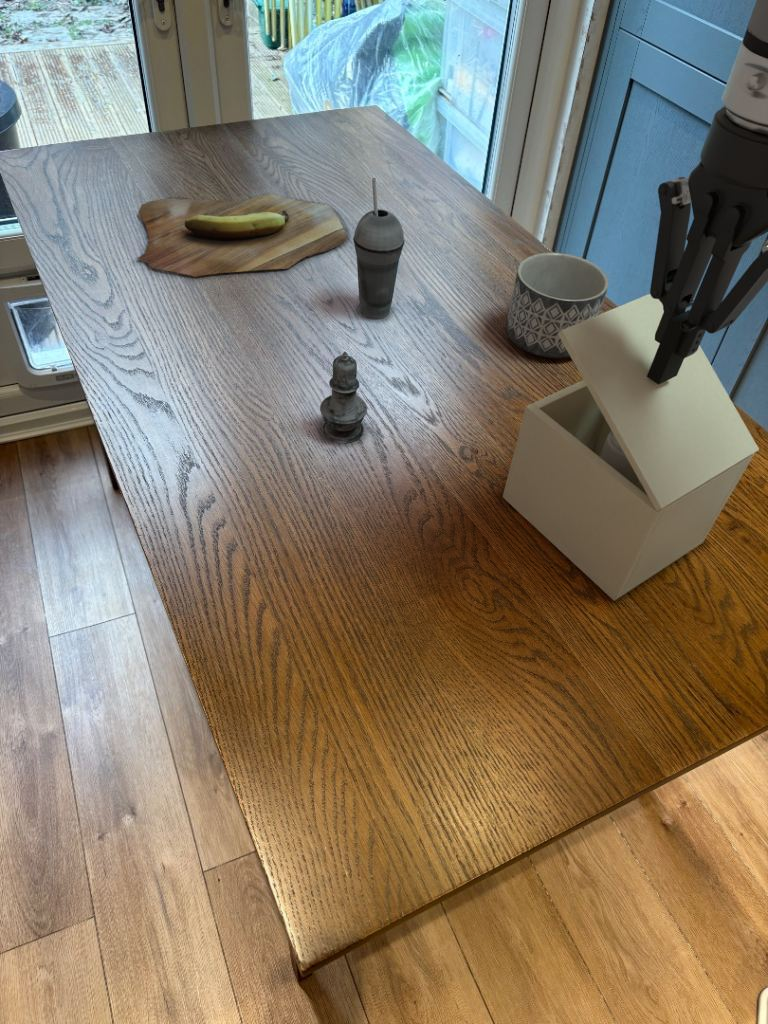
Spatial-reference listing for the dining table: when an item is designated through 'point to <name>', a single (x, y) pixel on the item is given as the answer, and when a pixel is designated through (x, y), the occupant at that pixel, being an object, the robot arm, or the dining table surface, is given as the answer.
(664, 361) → the robot arm
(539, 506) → the cream box
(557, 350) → the planter
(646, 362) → the box lid
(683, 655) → the dining table surface
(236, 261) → the cutting board
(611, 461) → the beverage can
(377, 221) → the beverage cup
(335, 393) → the chess piece
